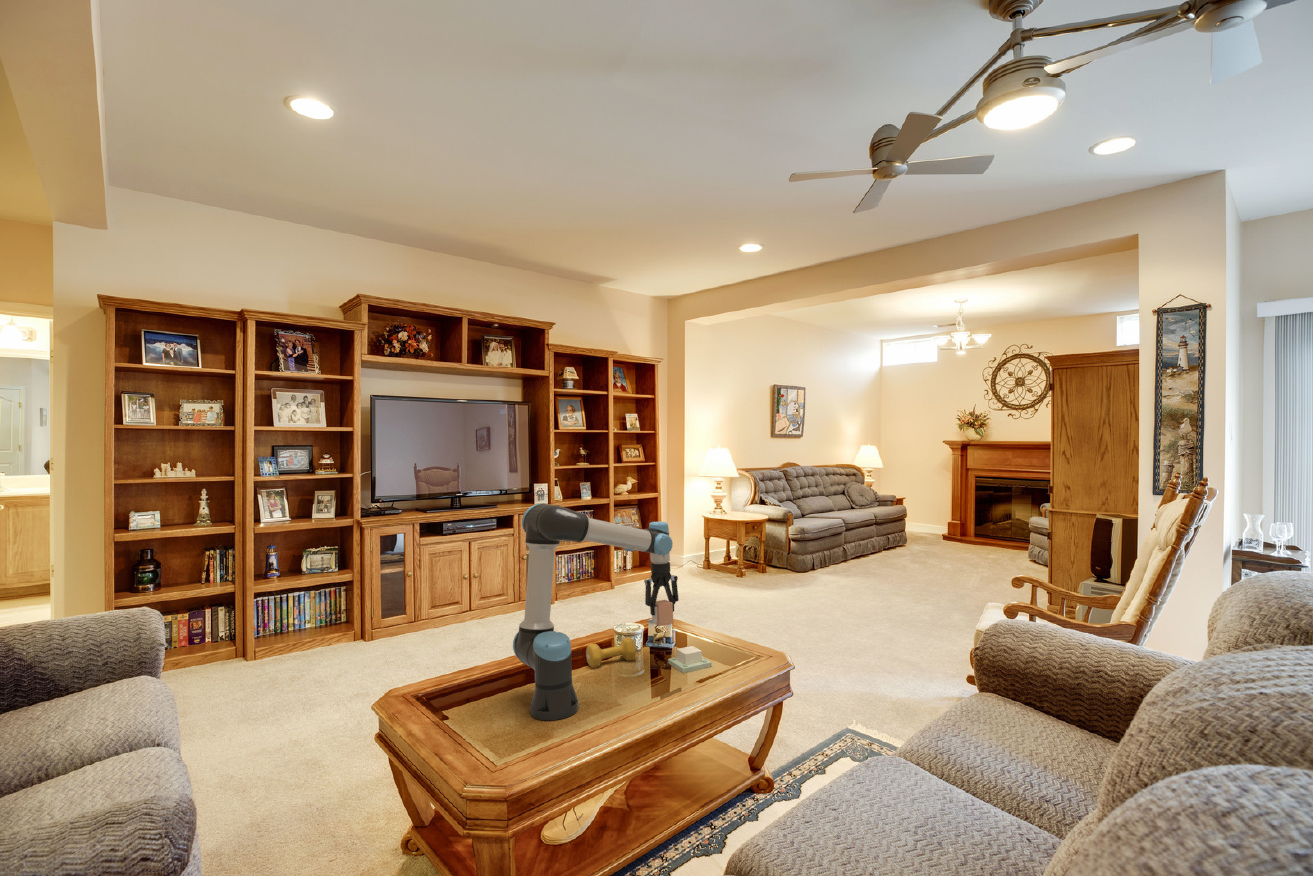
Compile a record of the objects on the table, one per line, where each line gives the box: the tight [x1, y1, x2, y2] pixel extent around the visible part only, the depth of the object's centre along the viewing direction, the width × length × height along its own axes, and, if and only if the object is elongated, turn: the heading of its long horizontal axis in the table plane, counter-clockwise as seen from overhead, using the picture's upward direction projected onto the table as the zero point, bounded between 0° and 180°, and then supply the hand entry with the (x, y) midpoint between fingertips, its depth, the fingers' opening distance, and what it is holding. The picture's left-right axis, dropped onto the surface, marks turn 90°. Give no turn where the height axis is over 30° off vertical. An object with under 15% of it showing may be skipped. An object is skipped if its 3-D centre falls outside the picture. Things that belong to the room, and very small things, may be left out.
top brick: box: [651, 599, 674, 627], centre depth 234 cm, size 6×6×8 cm
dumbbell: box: [585, 636, 637, 669], centre depth 234 cm, size 19×9×8 cm, turn 114°
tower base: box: [667, 645, 712, 674], centre depth 228 cm, size 12×12×6 cm
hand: (662, 621), depth 234 cm, fingers closed on top brick, 6 cm apart
